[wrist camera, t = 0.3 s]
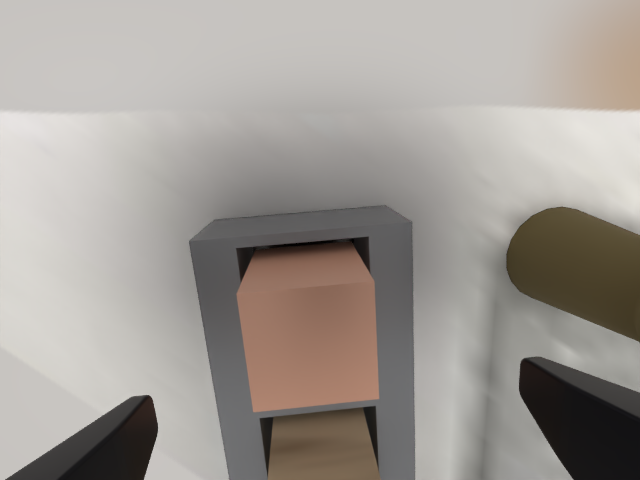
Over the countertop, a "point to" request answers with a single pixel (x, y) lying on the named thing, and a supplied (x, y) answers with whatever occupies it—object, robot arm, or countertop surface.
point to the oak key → (322, 447)
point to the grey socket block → (391, 326)
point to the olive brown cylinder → (579, 267)
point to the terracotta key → (309, 327)
